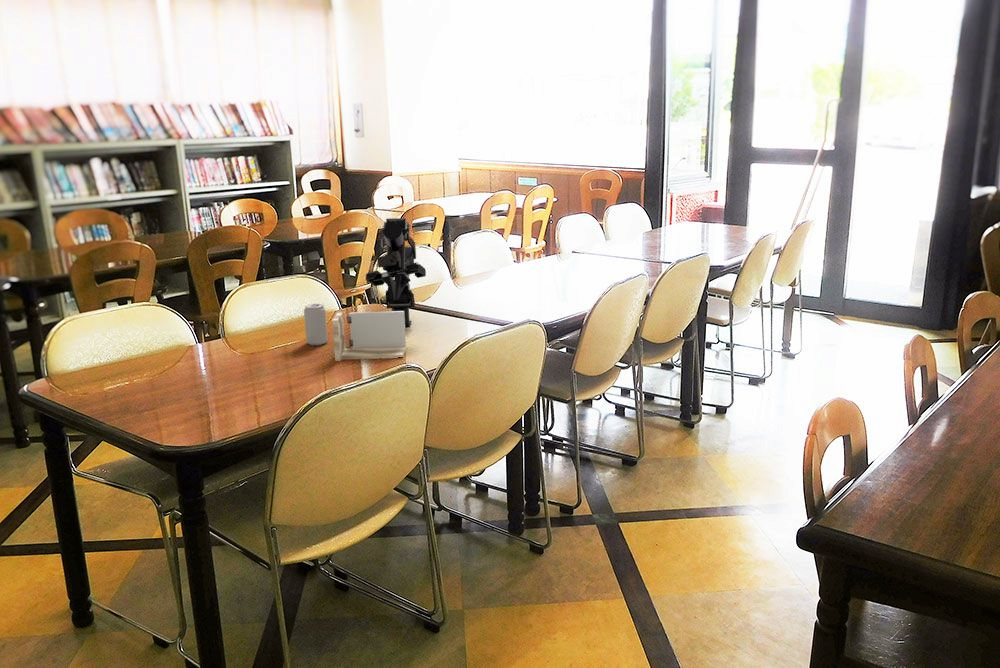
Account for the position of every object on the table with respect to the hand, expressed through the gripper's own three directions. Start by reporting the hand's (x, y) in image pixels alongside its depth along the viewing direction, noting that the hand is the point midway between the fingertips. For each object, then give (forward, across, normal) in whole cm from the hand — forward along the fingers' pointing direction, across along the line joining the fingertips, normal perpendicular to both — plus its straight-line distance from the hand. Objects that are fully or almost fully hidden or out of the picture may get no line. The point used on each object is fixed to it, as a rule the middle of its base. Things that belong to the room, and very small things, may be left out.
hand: (395, 299), depth 251 cm
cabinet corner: (+22, -2, -11) cm, 25 cm away
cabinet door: (+18, -2, -7) cm, 19 cm away
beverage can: (+14, -23, -7) cm, 28 cm away
